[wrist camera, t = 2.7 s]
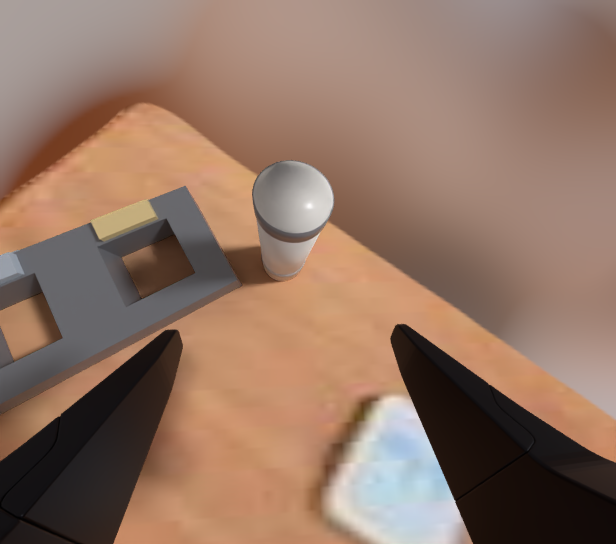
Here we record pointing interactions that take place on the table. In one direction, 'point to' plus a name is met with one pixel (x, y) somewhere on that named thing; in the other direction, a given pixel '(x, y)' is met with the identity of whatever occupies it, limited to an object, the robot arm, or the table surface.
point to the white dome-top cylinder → (290, 214)
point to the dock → (106, 289)
